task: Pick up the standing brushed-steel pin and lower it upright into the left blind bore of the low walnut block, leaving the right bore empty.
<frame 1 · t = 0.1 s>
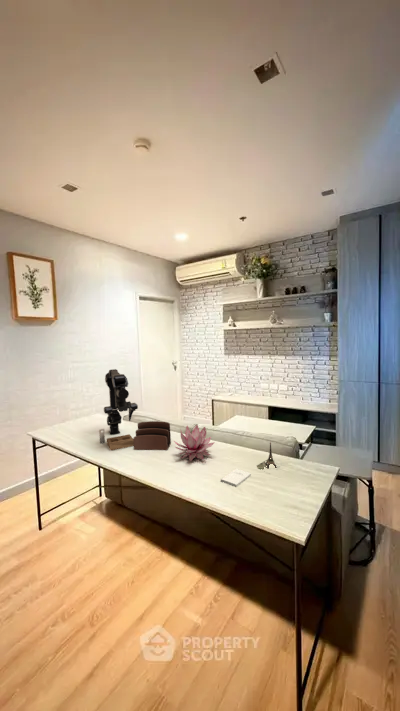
hand: (121, 422, 175), 15 cm above the table, fingers open, 9 cm apart
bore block: (120, 445, 178), on the table
external hard drive: (236, 479, 133), on the table
decorative flower: (194, 456, 158), on the table
pin: (102, 442, 183), on the table
eiffel tower figurine: (270, 467, 144), on the table
letter holder: (152, 447, 174), on the table
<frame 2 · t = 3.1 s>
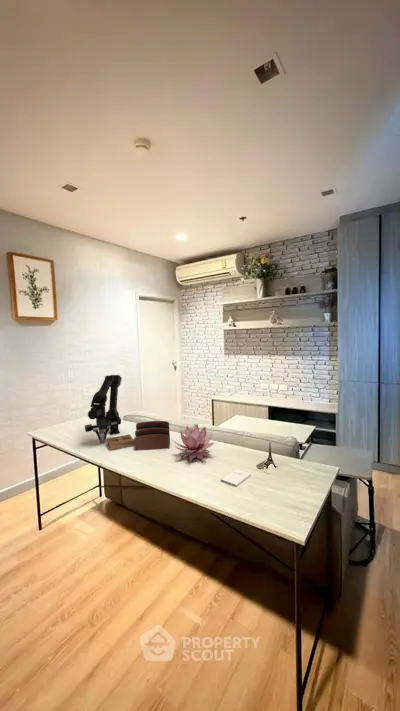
hand: (102, 439, 183), 2 cm above the table, fingers closed on pin, 3 cm apart
pin: (102, 442, 183), on the table, touching gripper
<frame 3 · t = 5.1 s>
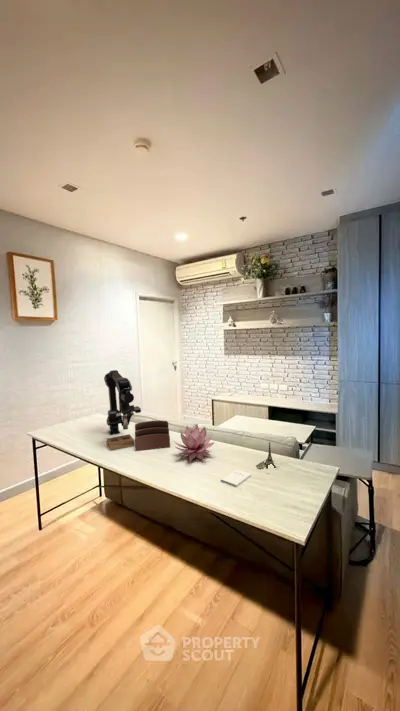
hand: (125, 425, 179), 11 cm above the table, fingers closed on pin, 3 cm apart
pin: (125, 428, 179), point 9 cm above the table, touching gripper
when the fingers open (4 cm above the table, at t = 7.0 s): pin drops 1 cm, resting on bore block.
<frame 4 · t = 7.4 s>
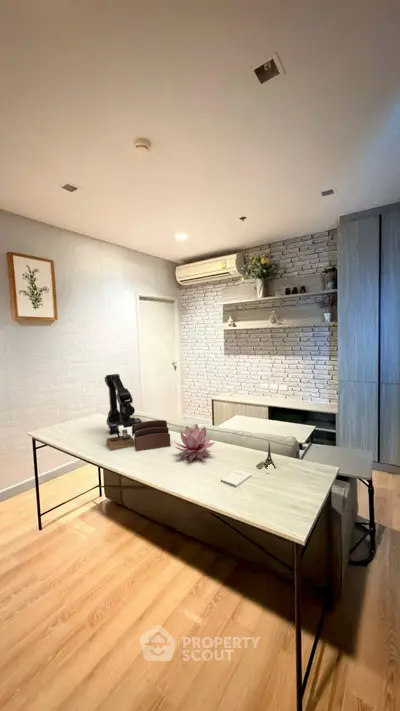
hand: (126, 437, 179), 4 cm above the table, fingers open, 8 cm apart
pin: (126, 442, 180), point 1 cm above the table, tilted 6°, touching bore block
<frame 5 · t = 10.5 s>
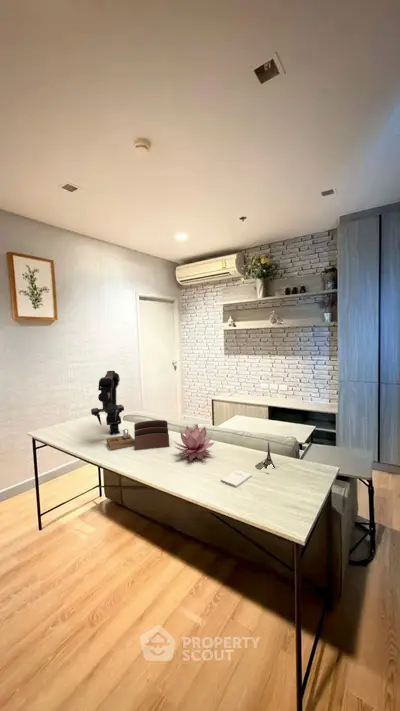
hand: (108, 423, 182), 12 cm above the table, fingers open, 9 cm apart
pin: (126, 443, 180), point 1 cm above the table, touching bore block
at the end: pin 0.0 cm from the target spot on the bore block, point 0.5 cm above the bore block's base; pin tilted 0°; the gripper is holding nothing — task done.
